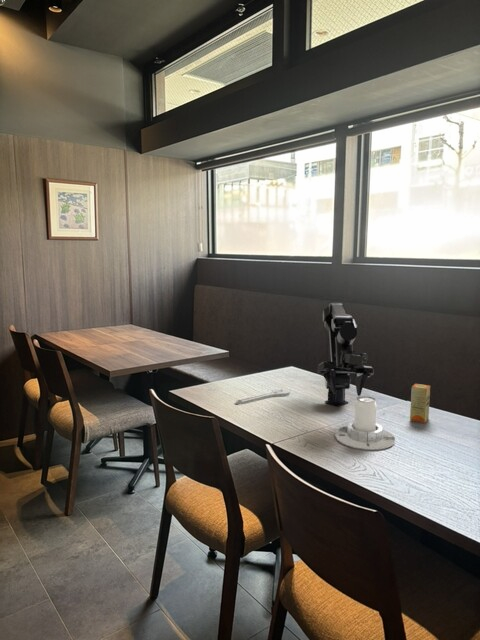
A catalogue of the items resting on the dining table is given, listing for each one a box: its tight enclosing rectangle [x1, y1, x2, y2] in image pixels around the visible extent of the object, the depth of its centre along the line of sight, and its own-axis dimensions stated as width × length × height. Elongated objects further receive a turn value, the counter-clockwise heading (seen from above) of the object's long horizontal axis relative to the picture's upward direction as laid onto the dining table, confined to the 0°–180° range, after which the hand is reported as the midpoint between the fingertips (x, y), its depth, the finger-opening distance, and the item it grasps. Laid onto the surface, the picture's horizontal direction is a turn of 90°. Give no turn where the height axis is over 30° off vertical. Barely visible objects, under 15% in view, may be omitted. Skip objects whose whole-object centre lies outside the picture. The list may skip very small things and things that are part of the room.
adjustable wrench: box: [235, 388, 291, 405], centre depth 189 cm, size 25×6×2 cm, turn 119°
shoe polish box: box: [409, 383, 431, 424], centre depth 163 cm, size 5×5×12 cm
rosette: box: [334, 420, 396, 451], centre depth 148 cm, size 18×18×4 cm
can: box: [354, 395, 377, 432], centre depth 147 cm, size 6×6×12 cm
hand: (346, 394), depth 157 cm, fingers open, 9 cm apart
